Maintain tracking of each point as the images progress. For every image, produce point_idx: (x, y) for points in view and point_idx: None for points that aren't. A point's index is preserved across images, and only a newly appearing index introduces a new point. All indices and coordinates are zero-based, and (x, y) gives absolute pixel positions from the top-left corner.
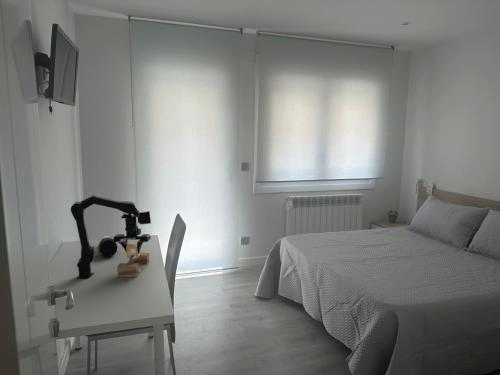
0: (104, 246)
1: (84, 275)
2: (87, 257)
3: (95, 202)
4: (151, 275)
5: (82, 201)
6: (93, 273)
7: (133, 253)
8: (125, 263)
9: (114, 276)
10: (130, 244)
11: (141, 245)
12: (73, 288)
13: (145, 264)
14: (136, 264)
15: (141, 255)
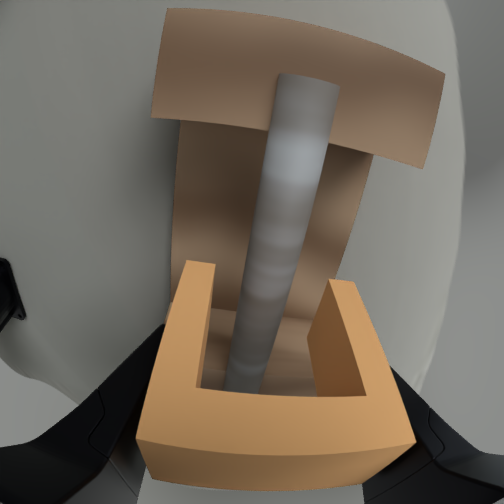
0: None
1: (4, 323)
2: None
3: None
4: (388, 334)
5: None
6: (8, 271)
7: (202, 34)
8: (206, 372)
9: (145, 321)
10: (203, 455)
11: (440, 432)
12: (48, 382)
13: (362, 162)
14: (313, 395)
15: (356, 149)
